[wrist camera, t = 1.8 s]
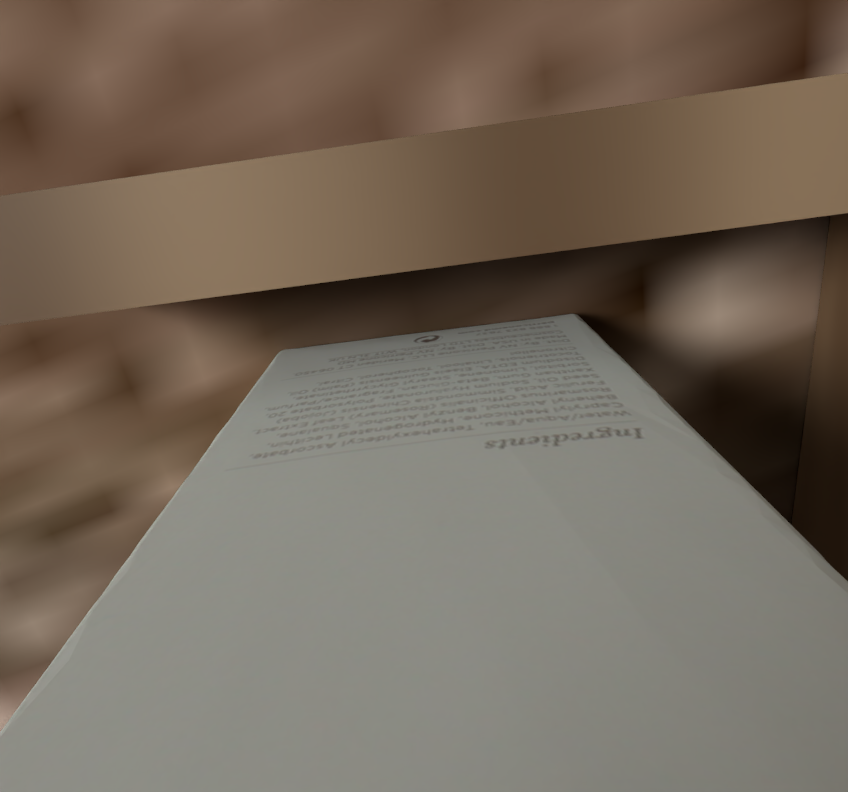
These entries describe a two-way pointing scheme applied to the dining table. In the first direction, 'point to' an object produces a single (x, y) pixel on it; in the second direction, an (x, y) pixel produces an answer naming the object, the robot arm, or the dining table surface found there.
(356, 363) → the small box
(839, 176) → the walnut bay
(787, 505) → the dining table surface
